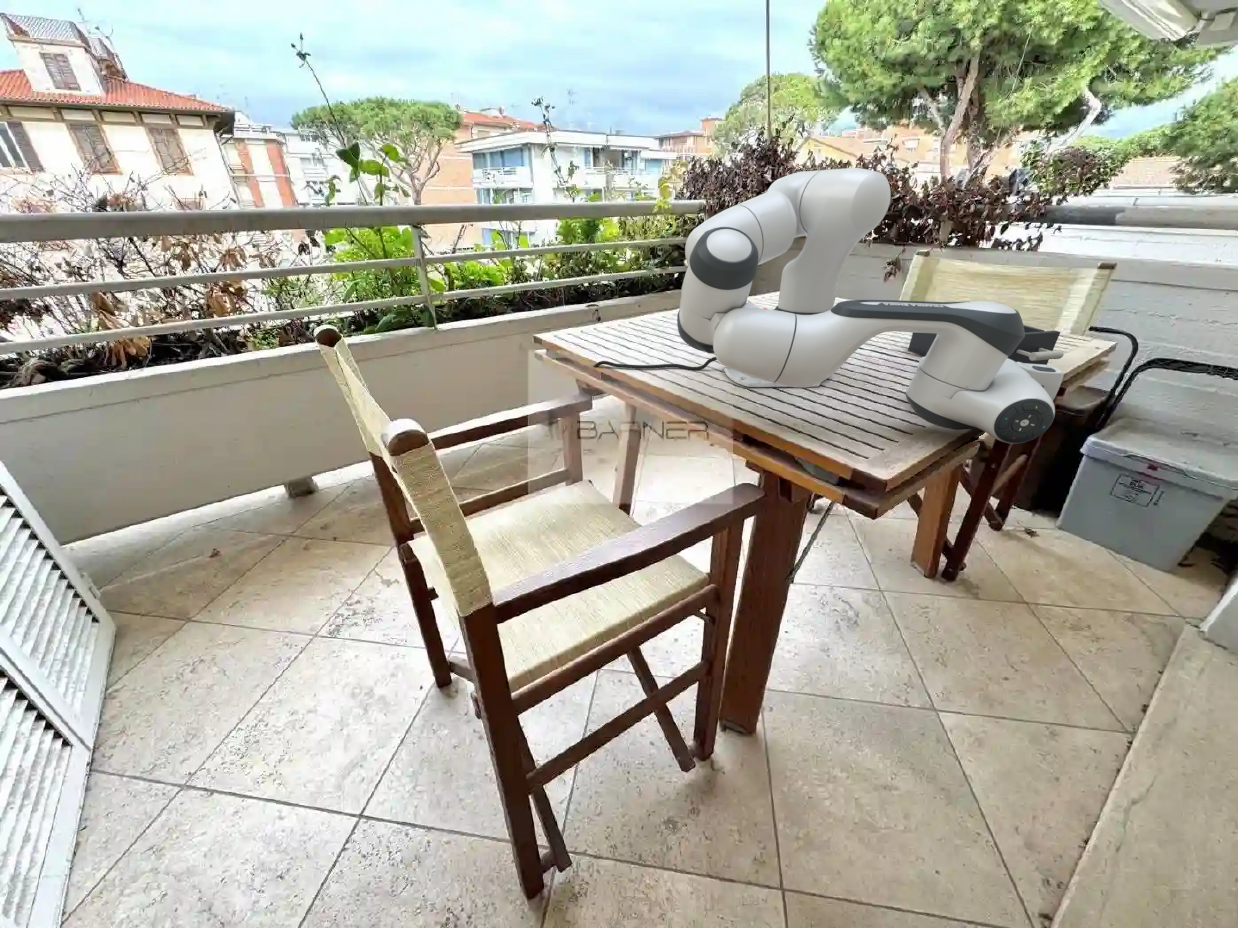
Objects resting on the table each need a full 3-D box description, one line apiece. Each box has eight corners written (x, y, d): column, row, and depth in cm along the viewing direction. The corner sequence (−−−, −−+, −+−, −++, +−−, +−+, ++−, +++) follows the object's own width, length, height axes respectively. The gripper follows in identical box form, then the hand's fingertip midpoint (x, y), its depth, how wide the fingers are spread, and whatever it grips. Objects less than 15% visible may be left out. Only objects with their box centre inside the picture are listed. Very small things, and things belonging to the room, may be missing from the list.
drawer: (1063, 381, 97) (1083, 337, 93) (1012, 386, 95) (1030, 341, 91) (989, 356, 113) (1003, 317, 108) (944, 359, 111) (957, 320, 107)
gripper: (917, 396, 85) (907, 372, 96) (1060, 410, 78) (1031, 383, 90) (927, 361, 82) (916, 341, 93) (1077, 373, 75) (1045, 349, 87)
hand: (974, 361), depth 91 cm, fingers closed on soda can, 5 cm apart
